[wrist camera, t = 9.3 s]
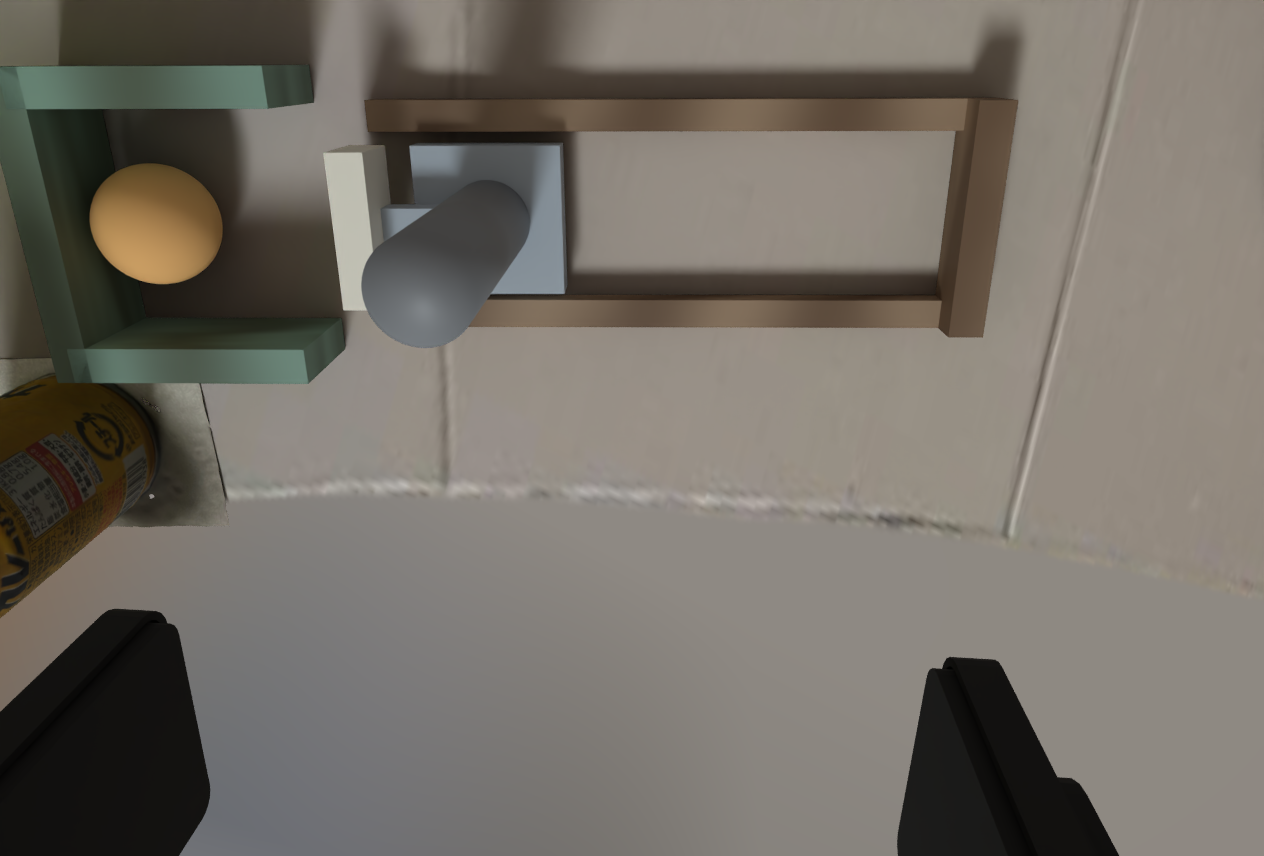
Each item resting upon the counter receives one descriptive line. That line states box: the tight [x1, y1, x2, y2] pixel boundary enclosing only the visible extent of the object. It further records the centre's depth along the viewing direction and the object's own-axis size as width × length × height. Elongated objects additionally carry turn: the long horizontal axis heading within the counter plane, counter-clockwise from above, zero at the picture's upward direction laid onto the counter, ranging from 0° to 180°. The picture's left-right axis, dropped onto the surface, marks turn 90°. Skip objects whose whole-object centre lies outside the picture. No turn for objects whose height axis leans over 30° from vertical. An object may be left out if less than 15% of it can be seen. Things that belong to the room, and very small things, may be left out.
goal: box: [0, 65, 345, 384], centre depth 31 cm, size 9×10×4 cm
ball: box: [90, 163, 223, 284], centre depth 31 cm, size 4×4×4 cm
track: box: [364, 98, 1018, 337], centre depth 31 cm, size 21×8×2 cm, turn 90°
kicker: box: [323, 143, 567, 348], centre depth 27 cm, size 7×5×11 cm
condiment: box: [0, 358, 229, 618], centre depth 31 cm, size 7×8×12 cm
